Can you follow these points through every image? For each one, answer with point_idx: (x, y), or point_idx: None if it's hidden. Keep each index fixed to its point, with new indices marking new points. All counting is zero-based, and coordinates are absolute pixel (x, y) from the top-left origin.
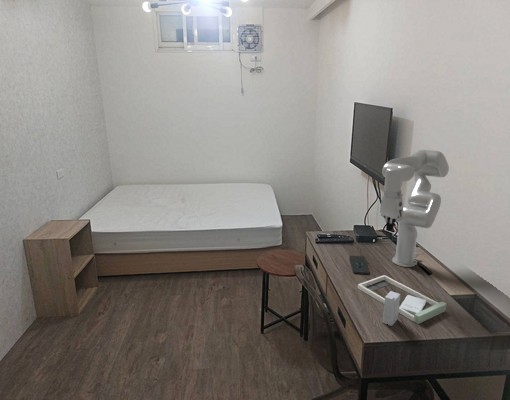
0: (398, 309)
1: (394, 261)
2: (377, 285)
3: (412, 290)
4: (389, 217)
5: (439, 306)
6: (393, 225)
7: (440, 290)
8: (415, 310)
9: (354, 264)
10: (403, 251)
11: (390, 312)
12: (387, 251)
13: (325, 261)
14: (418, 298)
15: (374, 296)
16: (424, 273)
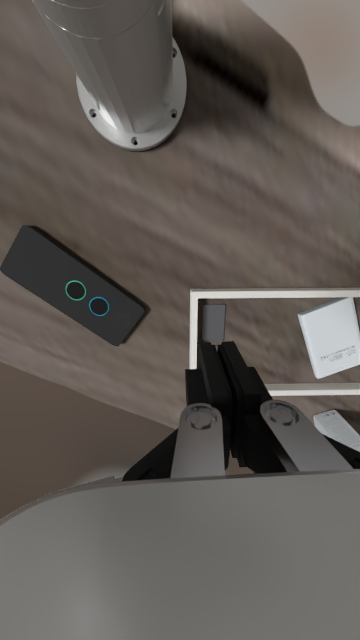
0: (354, 430)
1: (120, 145)
2: (209, 338)
3: (307, 295)
4: (202, 473)
5: None
6: (265, 392)
7: (350, 189)
8: (353, 359)
9: (73, 308)
10: (142, 97)
11: None
12: (3, 51)
13: (8, 360)
14: (332, 307)
15: None
16: (248, 112)
